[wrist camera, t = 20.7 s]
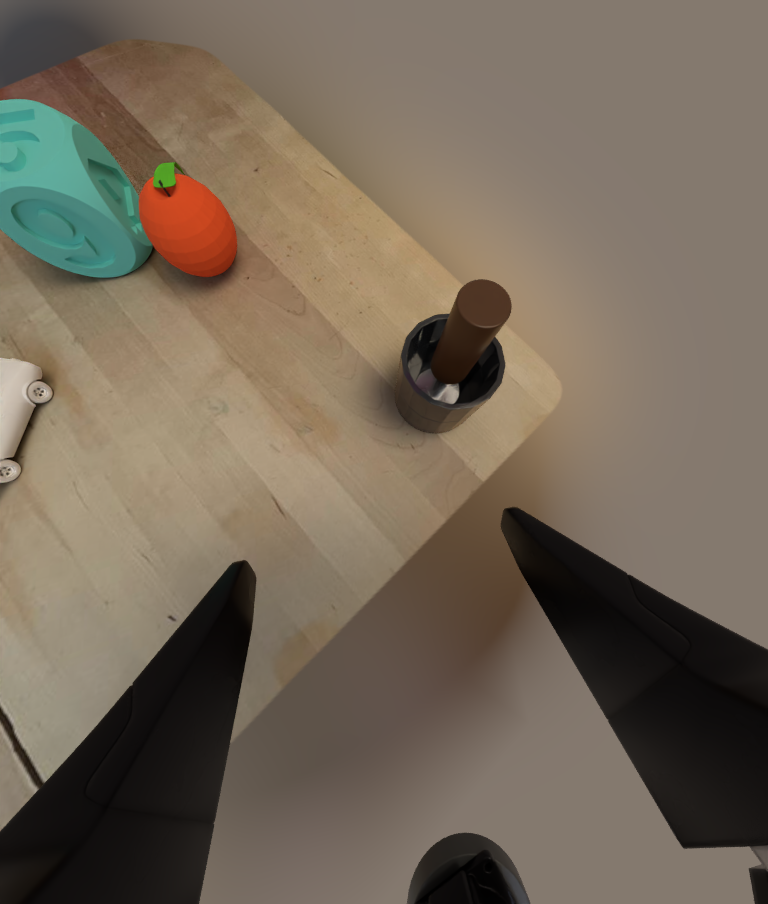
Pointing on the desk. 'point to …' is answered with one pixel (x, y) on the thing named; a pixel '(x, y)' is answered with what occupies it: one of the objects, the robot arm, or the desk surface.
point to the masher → (465, 338)
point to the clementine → (187, 223)
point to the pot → (473, 388)
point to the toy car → (17, 408)
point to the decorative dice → (66, 194)
